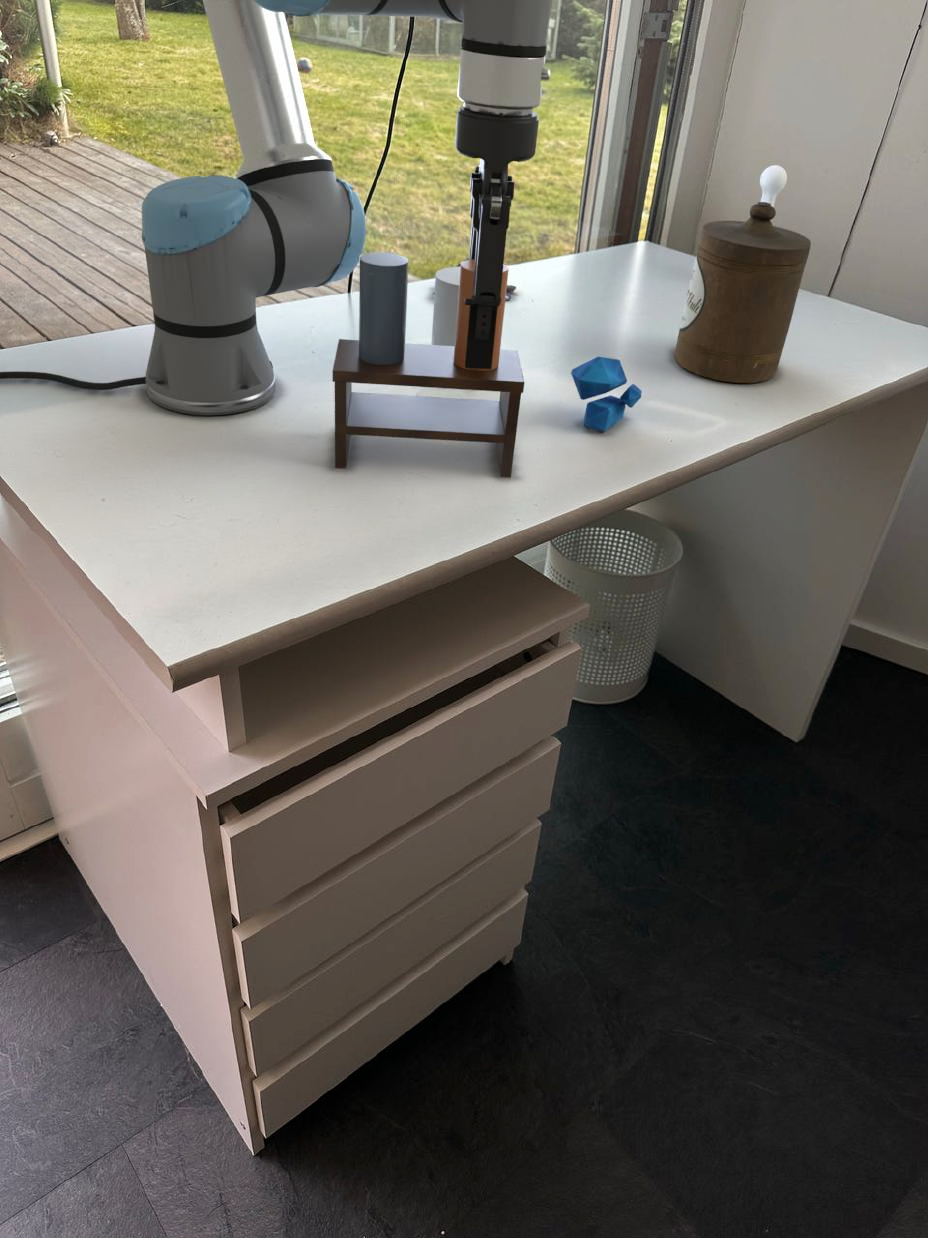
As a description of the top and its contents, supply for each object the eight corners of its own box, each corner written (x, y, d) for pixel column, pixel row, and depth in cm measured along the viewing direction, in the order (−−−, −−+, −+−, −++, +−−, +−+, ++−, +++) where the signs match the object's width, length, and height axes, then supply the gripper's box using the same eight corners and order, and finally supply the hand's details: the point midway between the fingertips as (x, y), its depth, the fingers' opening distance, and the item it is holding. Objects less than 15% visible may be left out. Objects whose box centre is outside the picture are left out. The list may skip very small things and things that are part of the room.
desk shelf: (333, 467, 99) (332, 370, 93) (339, 431, 106) (338, 338, 100) (512, 477, 101) (524, 382, 94) (506, 441, 108) (517, 350, 101)
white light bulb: (778, 291, 166) (812, 171, 154) (755, 297, 162) (787, 174, 150) (728, 274, 172) (757, 157, 161) (704, 280, 168) (731, 160, 156)
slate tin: (357, 363, 95) (358, 264, 89) (360, 347, 98) (361, 250, 92) (404, 366, 95) (408, 267, 89) (404, 349, 99) (408, 253, 93)
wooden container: (693, 338, 142) (728, 184, 129) (787, 362, 137) (834, 205, 124) (658, 365, 132) (693, 201, 119) (759, 393, 126) (807, 224, 113)
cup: (483, 381, 122) (492, 289, 115) (424, 372, 123) (429, 280, 116) (494, 359, 128) (503, 272, 121) (437, 351, 129) (443, 263, 122)
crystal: (662, 364, 113) (621, 368, 103) (641, 432, 117) (600, 442, 107) (609, 348, 116) (565, 350, 107) (590, 414, 120) (546, 422, 110)
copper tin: (454, 369, 95) (461, 271, 89) (452, 352, 99) (459, 257, 93) (500, 372, 96) (510, 274, 90) (497, 355, 100) (506, 260, 94)
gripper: (551, 128, 76) (519, 393, 90) (530, 95, 91) (505, 327, 105) (461, 120, 75) (442, 388, 89) (454, 89, 90) (439, 322, 104)
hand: (476, 354), depth 97 cm, fingers open, 6 cm apart
